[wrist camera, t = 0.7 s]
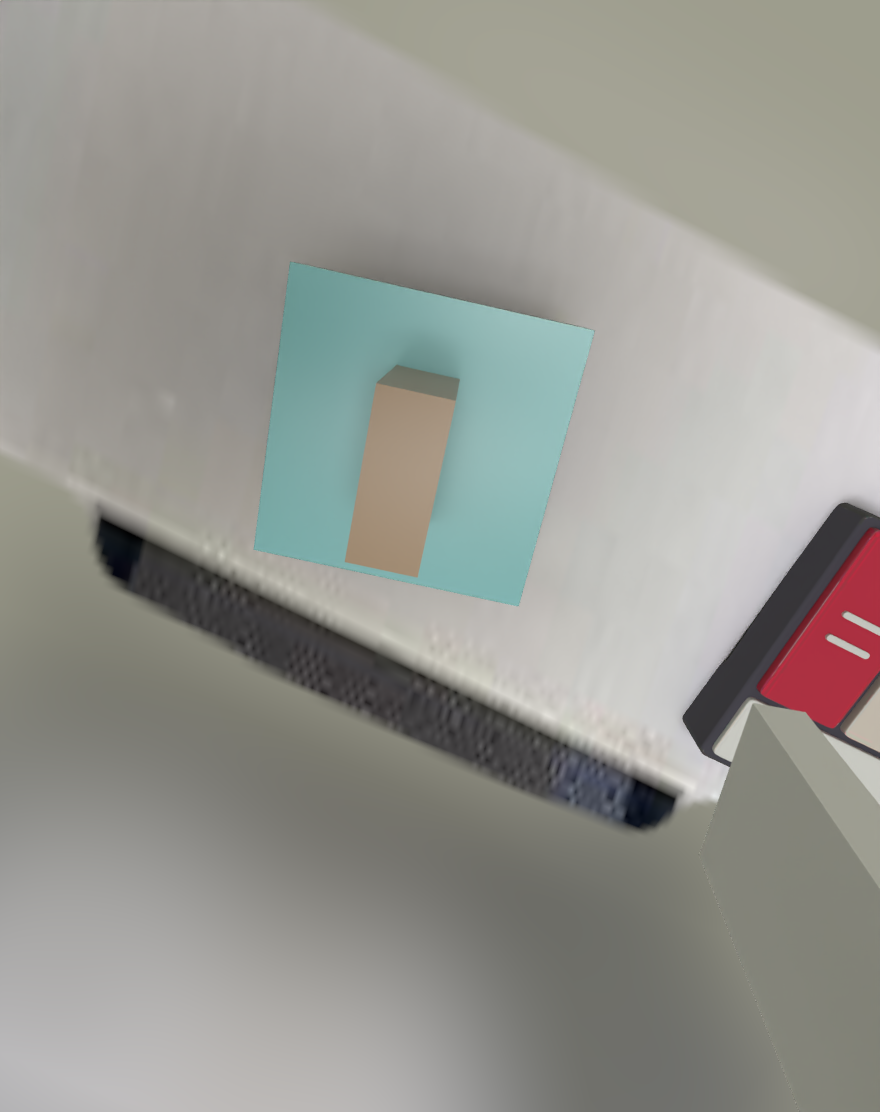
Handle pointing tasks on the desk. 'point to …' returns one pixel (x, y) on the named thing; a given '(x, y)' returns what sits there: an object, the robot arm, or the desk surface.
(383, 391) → the lid
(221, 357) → the desk surface
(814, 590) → the calculator
